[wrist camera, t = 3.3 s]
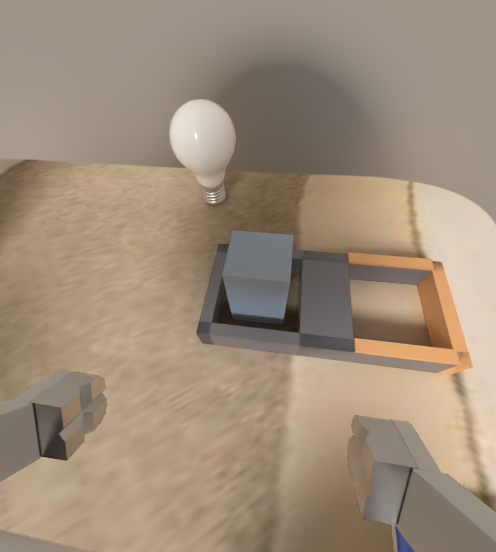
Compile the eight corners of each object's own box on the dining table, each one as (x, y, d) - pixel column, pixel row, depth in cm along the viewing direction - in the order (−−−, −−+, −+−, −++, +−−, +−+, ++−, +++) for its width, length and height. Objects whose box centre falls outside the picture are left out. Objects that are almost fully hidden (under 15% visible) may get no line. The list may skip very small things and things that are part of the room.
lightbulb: (194, 183, 34) (169, 86, 25) (243, 183, 34) (236, 85, 24) (184, 219, 31) (151, 123, 21) (239, 220, 30) (228, 122, 21)
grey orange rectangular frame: (202, 343, 23) (195, 331, 20) (222, 258, 27) (218, 241, 25) (451, 374, 21) (475, 366, 18) (426, 277, 25) (443, 260, 23)
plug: (232, 319, 24) (222, 275, 18) (239, 281, 26) (232, 230, 20) (282, 325, 23) (290, 281, 17) (285, 286, 25) (293, 234, 19)
